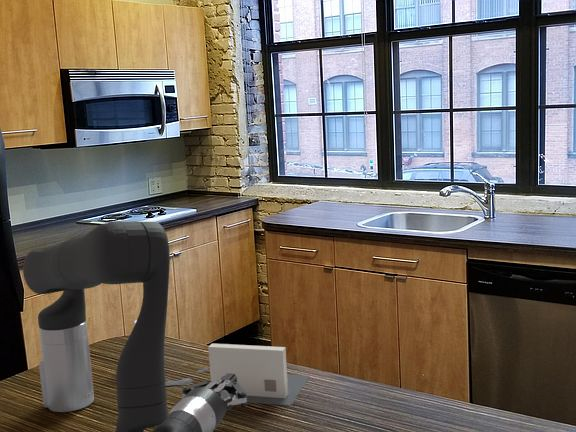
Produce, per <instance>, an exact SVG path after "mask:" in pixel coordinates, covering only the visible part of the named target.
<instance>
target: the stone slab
mask: <svg viewBox="0 0 576 432" xmlns="http://www.w3.org/2000/svg"><path fill="white" fill-rule="evenodd" d="M198 369H199V370H197V371H195V372H196V374H201V373H204V372H208V371H209V366H205V367H203V368H201V367H199V368H198ZM194 382H195V381H194V379H192V378H190V377H186V378H182V379H178V380H168V381H165V384H166V387H168V386H169V387H170V386H186V385H190V384H191V383H194Z"/></svg>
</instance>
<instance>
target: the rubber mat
mask: <svg viewBox="0 0 576 432" xmlns="http://www.w3.org/2000/svg"><path fill="white" fill-rule="evenodd" d="M310 377H311V375H303V374H302V375H300V374H288V373H287V382H288V395H287V397H286V398H274V397H261V396H247V395H246V399H247V403H252V404H262V405H263V404H264V405H265V404H266V405H277V406H278V405H280V406H292V405H293V403H294V402H295V400H296V398H297V397H298V395H299V394H300V392H301V391H302V390H303V388H304V386H305V385H306V383H307V382H308V380H309V379H310ZM230 396H231V397H232V398H233V396H232V394H231V395H230Z"/></svg>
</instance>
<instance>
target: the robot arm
mask: <svg viewBox="0 0 576 432" xmlns="http://www.w3.org/2000/svg"><path fill="white" fill-rule="evenodd" d="M170 253H171V252H170V244H169V238H168V235H167V233H166V231H165V228H164V227H163V226H162V225H161V224H160V223H159V222H156V221H110V222H106V223H102V224H99V225H98V226H96V227H94V228H93V229H92V230H90V231H89V232H88V233H87V234H83V235H78V236H74V237H71V238H68V239H66V240H65V241H62V242H60V243H58V244H55V245H51V246H47V247H40V248H35V249H32V250H30V251H29V252H28V253H27V254H26V256H25V258H24V260H23V261H24V262H23V266H22V273H23V278H24V280H25V283H26V285H27V287H28V289H29V290H30V291H32V292H33V293H35V294H36V295H48V294H53V293H58V292H62V294H61V296H60V297H58V298H57V300H55V301H54V302H53V303H51V304H50V305H48V306H46V307H45V308H43V309H42V310H41V311H40V312H39V313H38V314H37V321H38V330H39V337H40V338H39V340H40V347H41V349H40V350H41V356H42V361H39V363H38V368H39V376H40V378H39V379H40V385H41V393H42V394H41V395H42V403H43V407H44V408H48V409H49V410H50V411H52V412H54V413H55V412H57V413H69V412H75V411H77V410H81V409H85V408H87V407H88V406H90V405H91V404H92V403H93V402H94V400H95V395H94V393H95V392H94V384H93V371H92V363H91V362H92V361H91V355H90V354H91V353H90V343H89V334H88V326H87V314H86V313H87V312H86V310H87V309H86V308H87V307H86V305H87V304H86V296H85V289H93V288H95V287H97V286H100V285H102V284H103V285H122V284H124V285H125V284H139V283H140V284H142V288H143V289H142V290H143V291H142V294H143V295H142V303H141V307H140V311H139V314H138V317H137V319H136V320H137V321H136V324H135V326H133V328H132V331H131V332H130V334H129V336H128V339H127V341H126V342H125V344H124V346H123V348H122V351H121V353H120V355H119V358H118V361H117V366H116V372H115V373H116V374H115V383H116V384H115V385H116V386H115V387H116V399H117V422H116V427H115V431H114V432H144V431H145V430H146V429H150V428H153V429H152V431H151V432H214V431H215V430H216V428H217V427H218V426H219V424H220V423H222V421H223V419H224V416H225V415H226V412H227V411H230V410H232V409H233V406H235V405H236V406H239V407H240V408H246V407H248V402H247V399H246V392H245V391H244V389H243V388H242V387H241V386H240V385H239V383H238V382H237V376H235V374H232V373H227V374H226V375H225V376H223V377H222V378H221V379H220V380H216V381H215V382H214V383H212V381H211V379H210V380H209V379H208V380H205V381H201V382H198V383H194V384H192V385H188V386H185V387H182V391H181V392H182V398H181V399H180V400H179V401H178V402H177V403H176V404H175V405H174V406H173V407H172V408H171V409H170V410H169V412H168V402H167V400H168V399H167V386H166V384H165V382H166V373H165V371H166V370H165V339H166V326H167V316H168V315H167V314H168V313H167V312H168V300H169V299H168V298H169V283H170V266H171V265H170V264H171V262H170V261H171V260H170V259H171V258H170V257H171V255H170ZM231 394H232V396H233V398H232V397H231V396H230V395H231Z"/></svg>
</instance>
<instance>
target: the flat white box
mask: <svg viewBox="0 0 576 432" xmlns="http://www.w3.org/2000/svg"><path fill="white" fill-rule="evenodd" d="M286 350H287V348H286V347H285V346H269V345H267V346H266V345H248V344H247V345H246V344H231V343H211V344H210V345H208V360H209V361H208V362H209V363H208V364H209V372H210V373H209V374H210V380H211V381H212V383H214V382H215V381H216V380H220V379H221V378H222V377H223V376H225V375H226V374H227V373H232V374H235V376H237V382H238V383H239V385H240V386H241V387H242V388H243V389H244V391H245V392H246V395H247V396H261V397H274V398H286V397H287V395H288V382H287V374H288V367H287V366H288V365H287V353H286V352H287V351H286Z"/></svg>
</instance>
